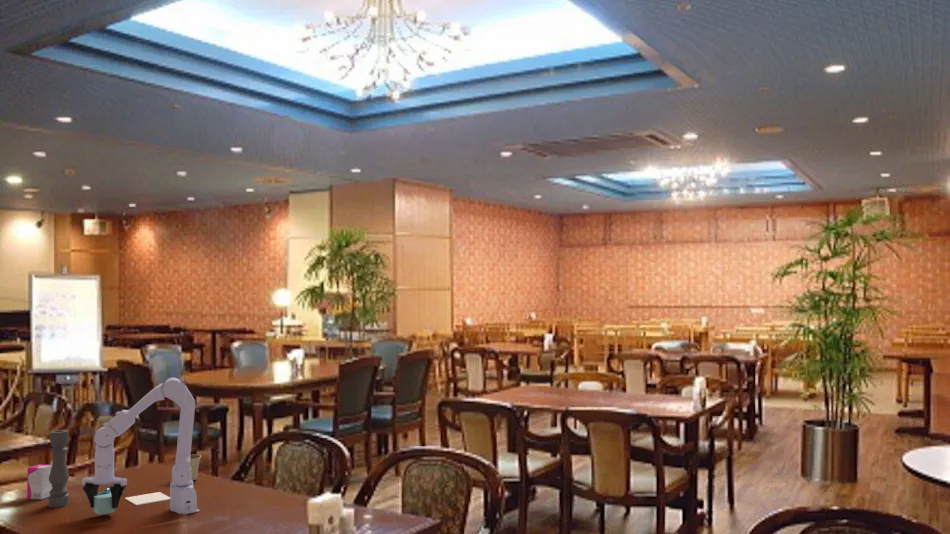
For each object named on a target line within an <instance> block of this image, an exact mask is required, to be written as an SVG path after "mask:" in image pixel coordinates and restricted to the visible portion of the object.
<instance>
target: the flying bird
mask: <svg viewBox="0 0 950 534" xmlns="http://www.w3.org/2000/svg"><path fill="white" fill-rule="evenodd" d="M104 494H111V491H110V487H109V488H107V487H106V488H104V489H103V490H101V492H97V496H98V495H104ZM122 494H125V491H123V492H122ZM87 504H88V505H90V503H89V502H88V503H87Z"/></svg>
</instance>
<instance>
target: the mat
mask: <svg viewBox="0 0 950 534" xmlns="http://www.w3.org/2000/svg"><path fill="white" fill-rule="evenodd" d="M124 500H126V501H128V502H129V503H131V504H133V505H134V506H138V507H139V506H143V505H148V504H153V503H154V504H155V503H159V502H166V501H170V496H168V495H167V494H164V493H163V492H160V491H158V492H156V491H155V492H152V493H146V494H145V493H144V494H138V495H133V496H129V497H128V496H127V497H124Z"/></svg>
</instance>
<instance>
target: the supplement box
mask: <svg viewBox="0 0 950 534" xmlns="http://www.w3.org/2000/svg"><path fill="white" fill-rule="evenodd" d="M51 467H52V464H35V465H33V466H30V467H27V477H26V478H27V480H26V483H27V485H26V486H27V489H26V490H27V491H26V492H27V494H26V500H29V499H33V501H43V500H45V499H48V497H49V496H50V495H51V494H49V492H50V491H51V489H52V484H50V482H49V475H50V471H51Z"/></svg>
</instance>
